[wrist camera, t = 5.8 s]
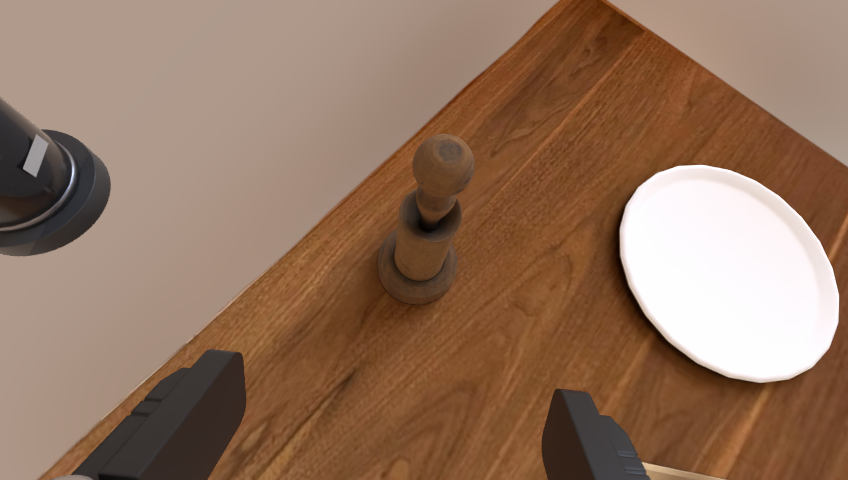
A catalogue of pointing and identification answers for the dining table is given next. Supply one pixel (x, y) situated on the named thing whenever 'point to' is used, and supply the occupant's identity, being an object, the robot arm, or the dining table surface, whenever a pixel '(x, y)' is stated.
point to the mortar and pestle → (427, 224)
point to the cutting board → (673, 473)
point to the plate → (728, 273)
